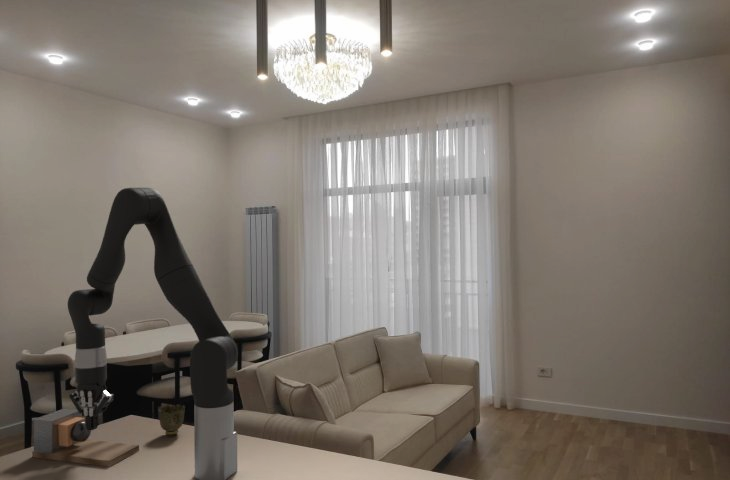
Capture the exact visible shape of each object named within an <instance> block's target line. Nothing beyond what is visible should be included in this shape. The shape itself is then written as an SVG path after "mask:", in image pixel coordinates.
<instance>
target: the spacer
mask: <svg viewBox="0 0 730 480" xmlns="http://www.w3.org/2000/svg"><path fill="white" fill-rule="evenodd" d="M77 422H86V418H85V417H82V418H81V417H75V418H73V419H70V420H68V421H66V422H63V423H61V424H58V431H59V446H67V447H68V446H70V445H72V439H71V430H72V427H73V426H74V425H75V424H76V423H77Z"/></svg>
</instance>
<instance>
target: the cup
mask: <svg viewBox="0 0 730 480" xmlns="http://www.w3.org/2000/svg"><path fill="white" fill-rule="evenodd" d="M185 408H186V405H184V404H183V405H182V404H178V403H177V404H176V405H174V404H172V405H170V404H166V405H165V406H164V405H162V406H161V408H158V410H157V411H158V418H159V425H160V427H161V429H162V430H164V431H165V432H164V434H165V436H166V437H173V436H174V437H175V436H177V435H178V433H179V429H180V428H181V427H182V426H183V423H184V419H185Z"/></svg>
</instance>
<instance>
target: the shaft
mask: <svg viewBox="0 0 730 480" xmlns="http://www.w3.org/2000/svg"><path fill="white" fill-rule="evenodd" d="M91 433H92V430H87V428H86V421H85V422H77V423H76V424H75V425H74V426H73V427H72V430H71V439H72V440H73V441H78V442H84V441H86V440H87V439H88V440H89V438H90V436H91Z"/></svg>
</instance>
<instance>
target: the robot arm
mask: <svg viewBox="0 0 730 480" xmlns="http://www.w3.org/2000/svg"><path fill="white" fill-rule="evenodd" d="M105 225H106V226H105V228H104V229H105V230H104V234H103V237H102V242H101V244H100V247H99V250H98V253H97V254H96V257H95V258H94V261H93V262H92V265H91V266H90V269H89V271H88V273H87V277H86V283H87V284H88V286H90V287H91V288H88V289H78V290H74V291H73V292H71V294H70V295H69V297H68V299H67V311H68V314H69V316H70V319H71V320H70V321H71V323H72V325H73V326H72V327H73V329H74V332H75V355H74V374H75V376H74V377H75V378H74V379H75V381H74V382H75V384H76V385H77V386H76V388H75V391H74V392H73V393H70V394H69V395H68V396H69V397H68V398H69V399H70V401H71V402H72V404H73V405H74V407H75V409H77V410H78V412H79V413H82V415H84V416H85V417H84V418H85V422H86V428H87V430H91V431H94V430H97V429H98V426H99V415H100V414H102V413H104V412H105V411H106V410H107V408H108V407H109V405H110V404H111V402H112V401H113V399H114V397H115V394H114V393H109V392H108V391H107V386H106V382H107V379H108V371H107V368H108V367H107V364H108V363H107V349H106V328H105V326H104V325H103V324H100V323H93V322H91V319H90V316H97V315H98V316H99V315H102V314H105V313H106V312H108V310H110V308H111V307H112V304H113V300H114V294H115V286H116V283H117V281H118V279H119V277H120V275H121V274H122V271H123V269H124V266H125V263H126V249H125V241H126V238H127V237H128V235H129V233H130V232H131V230H132V229H133V227H134V226H135V225H144V226H145V227H146V229H147V231H148V232H149V235H150V237H151V238H152V239H151V240H152V241H153V246H154V260H153V261H154V262H153V271H154V276H155V279H156V281H157V283H158V286H159V287H160V290H161V292H162V293H163V296H164V297H165V299H166V300H167V303H169V304H170V305H171V306H172V307H173V308H174V309H175V311H177V312H178V313H179V314H180V315H181V316H182V317H183V318H184V319H185V320H186V321H187V322H188V323H189V324H190V326H191V327H192V329H193V331H194V332H195V334H196V337H197V339H198V342H197V343H196V344H194V346H193V347H192V349H191V352H190V356H189V378H190V391H191V394H192V396H193V401H194V404H193V405H194V409H193V412H194V420H193V421H194V423H193V424H194V429H193V430H194V478H195V479H196V480H227V479H228V478H230V477H231V476H233V475H234V474H235V473H236V472H237V471H238V432H237V431H235V428H234V427H235V426H234V425H235V424H234V423H235V422H234V421H235V420H234V418H235V417H234V416H235V415H234V410H235V409H234V408H235V406H234V405H235V404H234V400H235V399H234V398H235V397H234V396H235V395H234V390H233V389H232V388H231V387H229V386H228V373H227V371H228V370H230V369H231V368H233V367H234V366H235V365H236V363H237V361H238V356H239V351H238V346H237V343H236V342H235V340H234V338H233V337H232V335H231V333H230V332H229V330H228V329H227V328H226V326H225V325H224V323H223V321H222V320H221V318H220V316H219V315H218V313H217V311H216V310H215V307H214V306H213V304H212V303H213V302H212V301H211V299H210V297H209V295H208V293H207V291H206V289H205V287H204V286H203V283H202V281H201V279H200V277H199V274H198V273H197V270H196V269H195V267H194V265H193V263H192V262H191V259H190V258H189V256H188V253H187V252H186V249H185V248H184V246H183V243H182V241H181V239H180V237H179V234H178V232H177V230H176V228H175V226H174V223H173V220H172V218H171V215H170V212H169V210H168V206H167V204H166V202H165V200H164V198H163V196H162V195H161V193H160V192H159V191H157V190H156V189H155V188H153V187H127V188H122V189H121V190H119V191H118V192H117V194H116V195H115V197H114V198H113V202H112V205H111V207H110V211H109V215H108V218H107V222H106V224H105Z"/></svg>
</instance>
